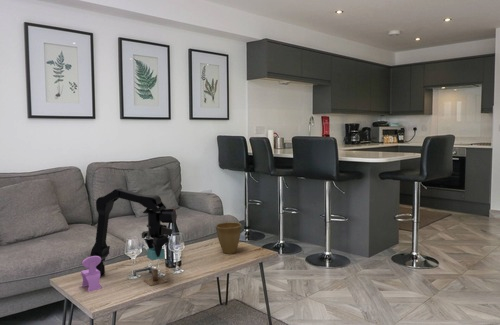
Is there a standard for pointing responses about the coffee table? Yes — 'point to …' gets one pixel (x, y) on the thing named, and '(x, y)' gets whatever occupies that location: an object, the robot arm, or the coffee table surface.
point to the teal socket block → (154, 254)
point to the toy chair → (91, 273)
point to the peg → (155, 279)
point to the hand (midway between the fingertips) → (155, 255)
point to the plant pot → (228, 236)
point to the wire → (143, 270)
